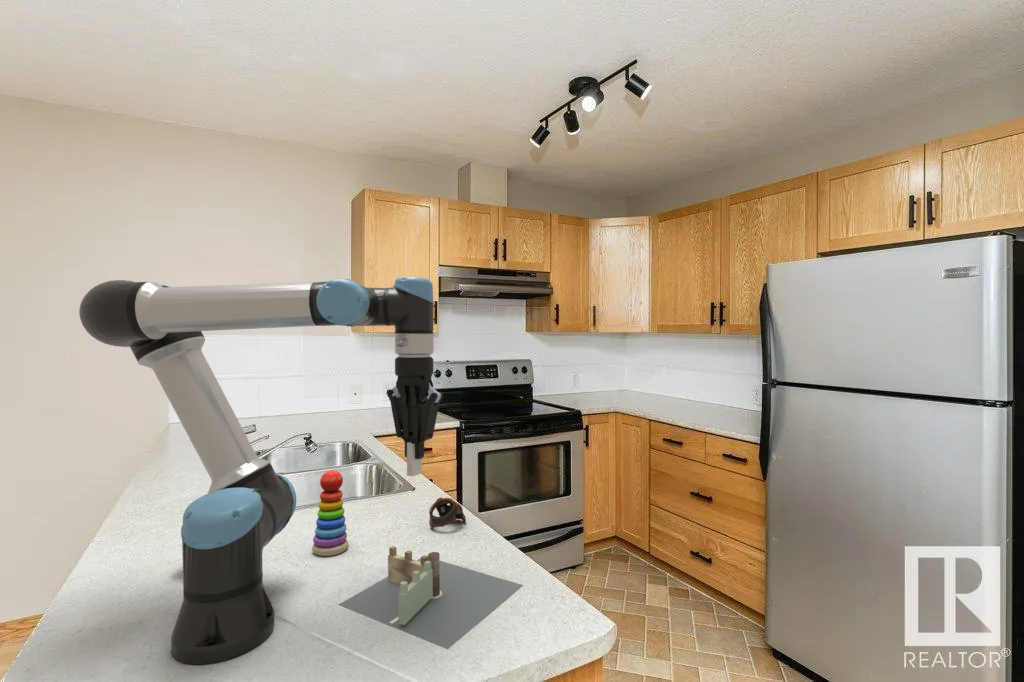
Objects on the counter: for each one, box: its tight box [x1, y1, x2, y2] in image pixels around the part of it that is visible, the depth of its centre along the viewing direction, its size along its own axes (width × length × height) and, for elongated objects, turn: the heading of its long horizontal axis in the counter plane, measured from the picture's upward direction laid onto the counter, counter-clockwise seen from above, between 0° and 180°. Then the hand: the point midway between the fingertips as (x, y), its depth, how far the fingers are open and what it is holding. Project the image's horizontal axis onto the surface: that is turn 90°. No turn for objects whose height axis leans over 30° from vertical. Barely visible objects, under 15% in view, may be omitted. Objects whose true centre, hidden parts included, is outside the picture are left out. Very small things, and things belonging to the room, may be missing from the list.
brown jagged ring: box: [428, 497, 467, 530], centre depth 136 cm, size 12×10×8 cm
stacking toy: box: [311, 469, 349, 557], centre depth 120 cm, size 8×8×19 cm
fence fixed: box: [387, 545, 441, 597], centre depth 101 cm, size 13×2×8 cm, turn 58°
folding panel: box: [398, 561, 433, 625], centre depth 92 cm, size 10×1×7 cm, turn 160°
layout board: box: [337, 557, 524, 650], centre depth 98 cm, size 24×26×1 cm
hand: (414, 474), depth 102 cm, fingers closed
